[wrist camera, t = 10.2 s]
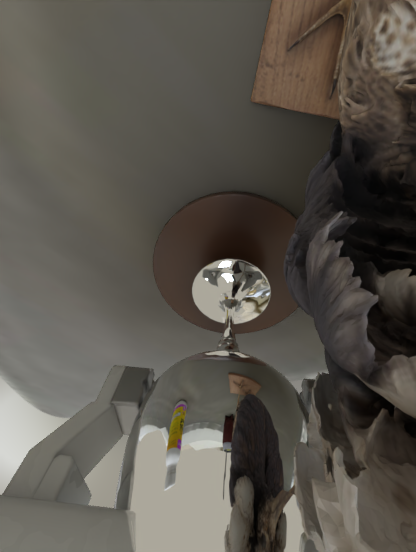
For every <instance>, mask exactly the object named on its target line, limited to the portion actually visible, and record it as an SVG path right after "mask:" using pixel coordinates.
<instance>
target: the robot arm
mask: <svg viewBox="0 0 416 552" xmlns="http://www.w3.org/2000/svg"><path fill="white" fill-rule="evenodd" d="M153 378H154V370H153V369H149V368H139V367H129V366H116V365H115V366H114V367H113V368H112V369H111V371H110V373H109V375H108V377H107V379H106V381H105V383H104V385H103V387H102V389H101V391H100V393H99V395H98V397H97V399H96V401H95V402H91V403H90V404H88V405H87V406H86V407H84V408H83V409H82V410H81V411H79V412H78V413H77V414H75V415H74V416H73V417H72V418H70V419H69V420H68V421H66V422H65V423H64V424H63V425H61V426H60V427H59V428H57V429H56V430H55V431H54V432H52V433H51V434H50V435H49V436H47V437H46V438H45V439H43V440H42V441H41V442H39V443H38V444H37V445H36V446H34V447H33V448H32V449H31V450H30V451H29V452H28V454H27V455H26V457H25V458H24V460H23V462H22V463H21V465H20V467H19V469H18V470H17V472H16V473H15V475H14V476H13V478H12V480H11V481H10V483H9V485H8V486H7V488H6V489H5V491H4V493H3V494H2V495H0V552H134V549H133V545H132V541H131V536H130V530H129V523H128V517H127V514H126V512H125V511H124V510H122V509H116V508H107V507H99V506H91V505H88V503H89V501H90V498H91V493H90V490H89V488H88V487H87V485H86V483H85V481H84V478H85V477H86V476H87V475H88V474H89V472H90V471H91V470H92V469H93V468H94V467H95V466H96V465H97V464H98V463H99V462H100V460H101V459H102V458H103V457H104V456H105V455H106V454H107V453H108V452H109V451H110V449H111V448H112V447H113V446H114V445H115V444H116V443H117V442H118V440H119V439H120V438H121V437H122V436H123V435H122V434H124V435H129V434H130V431H131V428H132V425H133V422H134V419H135V416H136V414H137V412H138V410H139V408H140V406H141V404H142V402H143V400H144V398H145V396H146V394H147V393H148V391H149V389H150V388H151V386H152V385H153V384H154V382H155V381H154V380H153ZM314 382H315V380H313V379H304V380H303V382H302V390H303V391H302V392H301V393H300V394H299V395H300V397H301V399H302V400H303V402H304V404H305V406H306V408H307V410H308V413H309V414H310V413H311V404H312V401H311V396H312V387H314ZM304 552H319V551H318V550H316V547H315V544H314V541H313V540H311V539H309V540H307V542H306V545H305V549H304Z"/></svg>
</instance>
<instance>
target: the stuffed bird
mask: <svg viewBox="0 0 416 552" xmlns="http://www.w3.org/2000/svg"><path fill="white" fill-rule="evenodd" d="M251 101H252V102H255V103H260V104H264V105H269V106H274V107H279V108H284V109H289V110H294V111H299V112H304V113H309V114H314V115H319V116H324V117H329V118H333V119H338V120H340V121H338V123H337V124H336V125H335V127H334V129H333V132H332V135H331V139H330V146H329V151H327V152H326V153H325V154H324V156H323V157H322V158H321V159H320V161H319V162H318V163H317V165H316V166H315V167H314V168H313V169H312V170H311V171H310V175H309V178H308V181H307V185H306V191H305V210H304V212H303V214H301V215H300V216H299V218H298V220H297V222H296V225H295V231H294V234H293V235H292V236H291V238H290V240H289V244H288V248H287V251H286V255H285V260H284V276H285V281H286V284H287V286H288V289H289V293H290V294H291V296H292V298H293V300H294V301H295V302H296V304H297V305H298V306H299V307H300V308H301V309H302V310H304V311H305V312H306V313H307V314H309V315H310V316H311V317H313V318H314V322H315V326H316V330H317V332H318V334H319V337H320V339H321V341H322V343H323V345H324V346H325V360H326V364H327V368H328V371H329V374H326V373H322V374H320V373H319V372H318V376H317V377H316V380H315V382H314V387H312V396H311V401H312V404H311V413H310V414H309V423H308V425H307V432H308V435H309V439H308V441H309V443H310V445H311V446H312V447H314V448H309V447H308V446H307V445H306V443H304V442H299V443H296V446H295V448H294V481H295V491H294V493H295V496H296V498H297V501H298V503H299V510H300V514H301V518H302V526H303V528H304V532H305V534H306V536H307V538H308V540H309V539H311V540H313V541H314V544H315V547H316V550H318V551H319V552H416V0H272V2H271V7H270V12H269V16H268V21H267V26H266V30H265V35H264V40H263V44H262V49H261V54H260V58H259V63H258V68H257V72H256V77H255V82H254V87H253V91H252V96H251Z"/></svg>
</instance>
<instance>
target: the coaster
mask: <svg viewBox="0 0 416 552" xmlns="http://www.w3.org/2000/svg"><path fill="white" fill-rule="evenodd" d="M296 222H297V219H296V218H295V217H294V216H293V215H292V214H291V213H290V212H289V211H288V210H286V209H285V208H284V207H282V206H281V205H279V204H278V203H276V202H274V201H272V200H270V199H268V198H265V197H262V196H259V195H255V194H251V193H246V192H221V193H215V194H210V195H207V196H204V197H201V198H199V199H197V200H195V201H193V202H190V203H189V204H187V205H186V206H184V207H183V208H181V209H180V210H179V211H178V212H177V213H176V214H174V215H173V216H172V218H171V219H170V220H169V221H168V222H167V224H166V225H165V227H164V228H163V230H162V232H161V233H160V235H159V237H158V240H157V242H156V246H155V250H154V255H153V271H154V276H155V280H156V283H157V286H158V288H159V290H160V292H161V294H162V296H163V297H164V299H165V300H166V302H167V303H168V304H169V305H170V306H171V307H172V309H173V310H174V311H176V312H177V313H178V314H179V315H180V316H182V317H183V318H184V319H186V320H187V321H189V322H191V323H193V324H195V325H197V326H199V327H202V328H204V329H207V330H211V331H215V332H220V333H223V332H224V326H225V324H224V323H220V322H217V321H214V320H212V319H210V318H208V317H207V316H205V315H204V314H203V313H202V312H201V311H200V310H199V309H198V307H197V306H196V304H195V302H194V300H193V296H192V284H193V281H194V279H195V277H196V275H197V274H198V272H199V271H200V270H201V269H202V268H203V267H205V266H206V265H208V264H209V263H212V262H214V261H217V260H221V259H240V260H244V261H247V262H249V263H252V264H254V265H255V266H256V267H258V268H259V269H260V270H262V272H263V273H264V274H265V275H266V277H267V278H268V281H269V283H270V286H271V298H270V301H269V304H268V306H267V307H266V309H265V310H264V311H263V312H262V313H261V314H260V315H259V316H258V317H256V318H255V319H253V320H251V321H248V322H245V323H241V324H234V334H241V333H250V332H255V331H259V330H262V329H266V328H268V327H270V326H273V325H275V324H277V323H278V322H280V321H282V320H283V319H285V318H286V317H288V316H289V315H290V314H291V313H292V312H294V311H295V310H296V309H297V308H298V305H297V304H296V302H295V301H294V300H293V298H292V296H291V294H290V293H289V289H288V286H287V284H286V281H285V276H284V260H285V255H286V251H287V248H288V244H289V240H290V238H291V236H292V235H293V234H294V231H295V225H296Z"/></svg>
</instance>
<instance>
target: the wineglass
mask: <svg viewBox="0 0 416 552" xmlns="http://www.w3.org/2000/svg"><path fill="white" fill-rule="evenodd" d="M192 296H193V300H194V302H195V304H196V306H197V307H198V309H199V310H200V311H201V312H202V313H203V314H204V315H205V316H207V317H208V318H210V319H212V320H214V321H217V322H220V323H224V324H225V326H224V332H223V335H222V338H221V340H220V341H219V343H218V347H217V350H216V351H208V352H202V353H198V354H195V355H192V356H189V357H187V358H185V359H183V360H181V361H179V362H177V363H175V364H174V365H172V366H171V367H170V368H168V369H167V370H166V371H165V372H163V374H162V375H161V376H160V377H159V378H158V379H157V380H156V381H155V382H154V384H153V385H152V386H151V388H150V389H149V391H148V393H147V394H146V396H145V398H144V400H143V402H142V404H141V406H140V408H139V410H138V412H137V414H136V416H135V419H134V422H133V425H132V428H131V431H130V434H129V438H128V441H127V445H126V449H125V453H124V458H123V462H122V466H121V471H120V475H119V482H118V487H117V493H116V500H115V505H114V508H116V509H122V510H124V511H125V512H126V514H127V517H128V523H129V530H130V536H131V541H132V545H133V549H134V552H304V549H305V545H306V542H307V540H308V538H307V536H306V534H305V532H304V528H303V526H302V518H301V514H300V510H299V503H298V501H297V498H296V496H295V493H294V491H295V481H294V448H295V446H296V443H299V442H304V443H306V445H307V446H308V447H309V448H314V447H312V446H311V445H310V443H309V441H308V439H309V435H308V432H307V425H308V423H309V413H308V410H307V408H306V406H305V404H304V402H303V400H302V399H301V397H300V395H299V394H298V392H297V390H296V389H295V388H294V386H293V385H292V384H291V383H290V382H289V381H288V380H287V379H286V378H285V377H284V376H283V375H282V374H281V373H280V372H279V371H278V370H276V369H275V368H273V367H272V366H270V365H269V364H267V363H265V362H264V361H262V360H260V359H258V358H256V357H253V356H250V355H247V354H243V353H239V348H238V344H237V343H236V339H235V334H234V324H241V323H245V322H248V321H251V320H253V319H255V318H256V317H258V316H259V315H260V314H261V313H262V312H263V311H264V310H265V309H266V307H267V306H268V304H269V301H270V298H271V286H270V283H269V281H268V278H267V277H266V275H265V274H264V273H263V272H262V270H260V269H259V268H258V267H256V266H255V265H254V264H252V263H249V262H247V261H244V260H240V259H221V260H217V261H214V262H212V263H209V264H208V265H206V266H205V267H203V268H202V269H201V270H200V271H199V272H198V274H197V275H196V277H195V279H194V281H193V284H192Z"/></svg>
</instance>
